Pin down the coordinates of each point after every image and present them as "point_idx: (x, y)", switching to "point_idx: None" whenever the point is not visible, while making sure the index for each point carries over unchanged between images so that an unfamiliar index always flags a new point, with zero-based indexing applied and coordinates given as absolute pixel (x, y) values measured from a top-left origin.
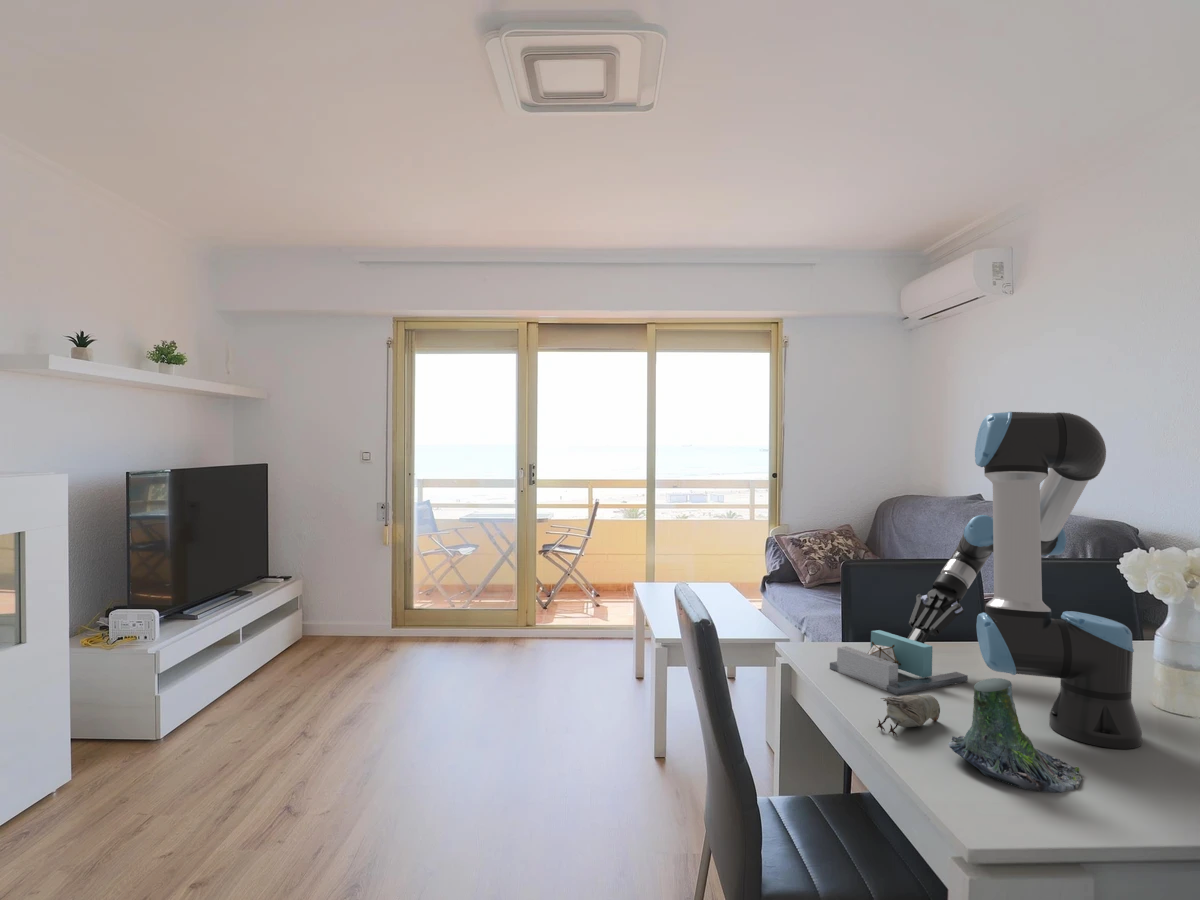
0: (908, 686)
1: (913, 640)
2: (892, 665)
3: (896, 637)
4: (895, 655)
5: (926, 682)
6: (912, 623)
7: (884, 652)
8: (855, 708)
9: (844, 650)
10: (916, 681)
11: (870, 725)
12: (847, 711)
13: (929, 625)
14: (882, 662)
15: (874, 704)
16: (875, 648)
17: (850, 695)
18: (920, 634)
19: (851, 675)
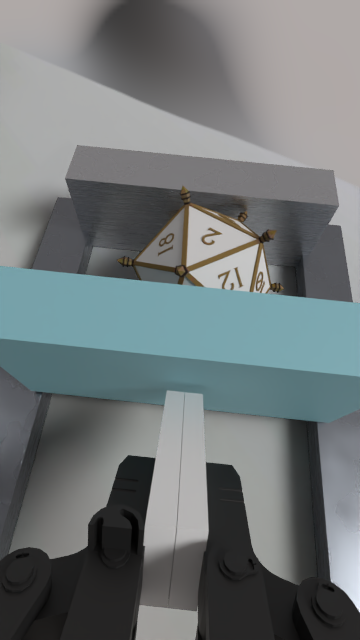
0: (44, 235)
1: (111, 347)
2: (73, 158)
3: (216, 315)
4: None
5: None
6: (296, 596)
7: (172, 219)
8: (81, 98)
9: (294, 168)
10: None
11: (14, 66)
12: (82, 80)
13: (65, 625)
14: (114, 156)
15: (67, 134)
16: (223, 218)
17: (137, 137)
18: (145, 512)
19: None
